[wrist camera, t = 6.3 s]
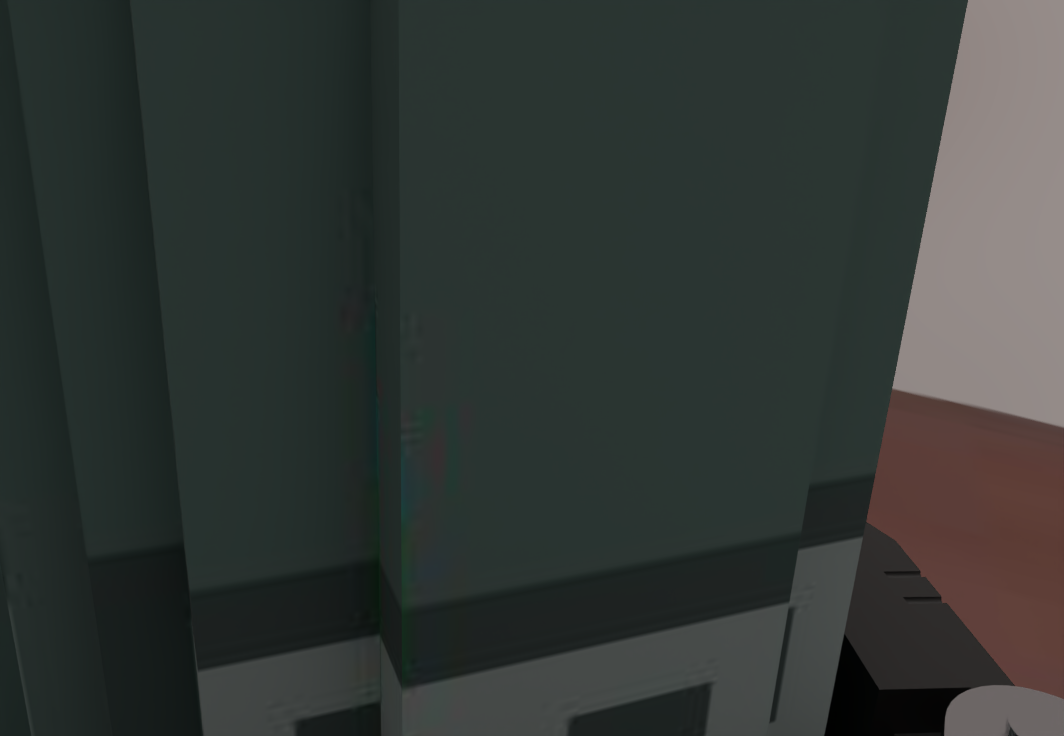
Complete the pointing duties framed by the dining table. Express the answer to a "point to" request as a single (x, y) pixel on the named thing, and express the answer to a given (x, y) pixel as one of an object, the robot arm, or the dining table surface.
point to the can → (448, 358)
